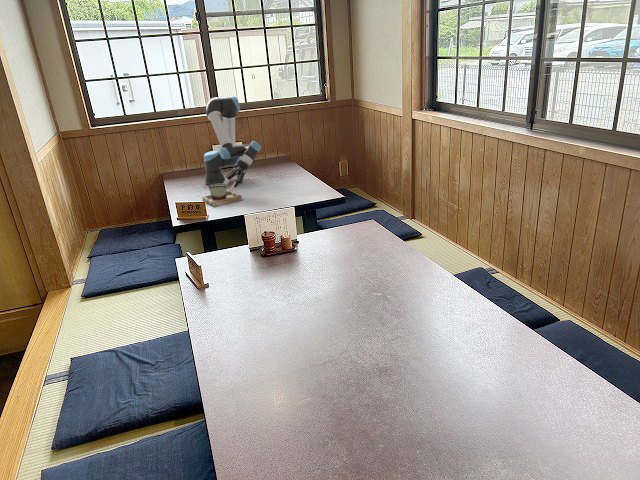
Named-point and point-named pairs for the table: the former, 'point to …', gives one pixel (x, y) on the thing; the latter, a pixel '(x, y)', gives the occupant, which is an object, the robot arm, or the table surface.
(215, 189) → the food container
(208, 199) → the tray
